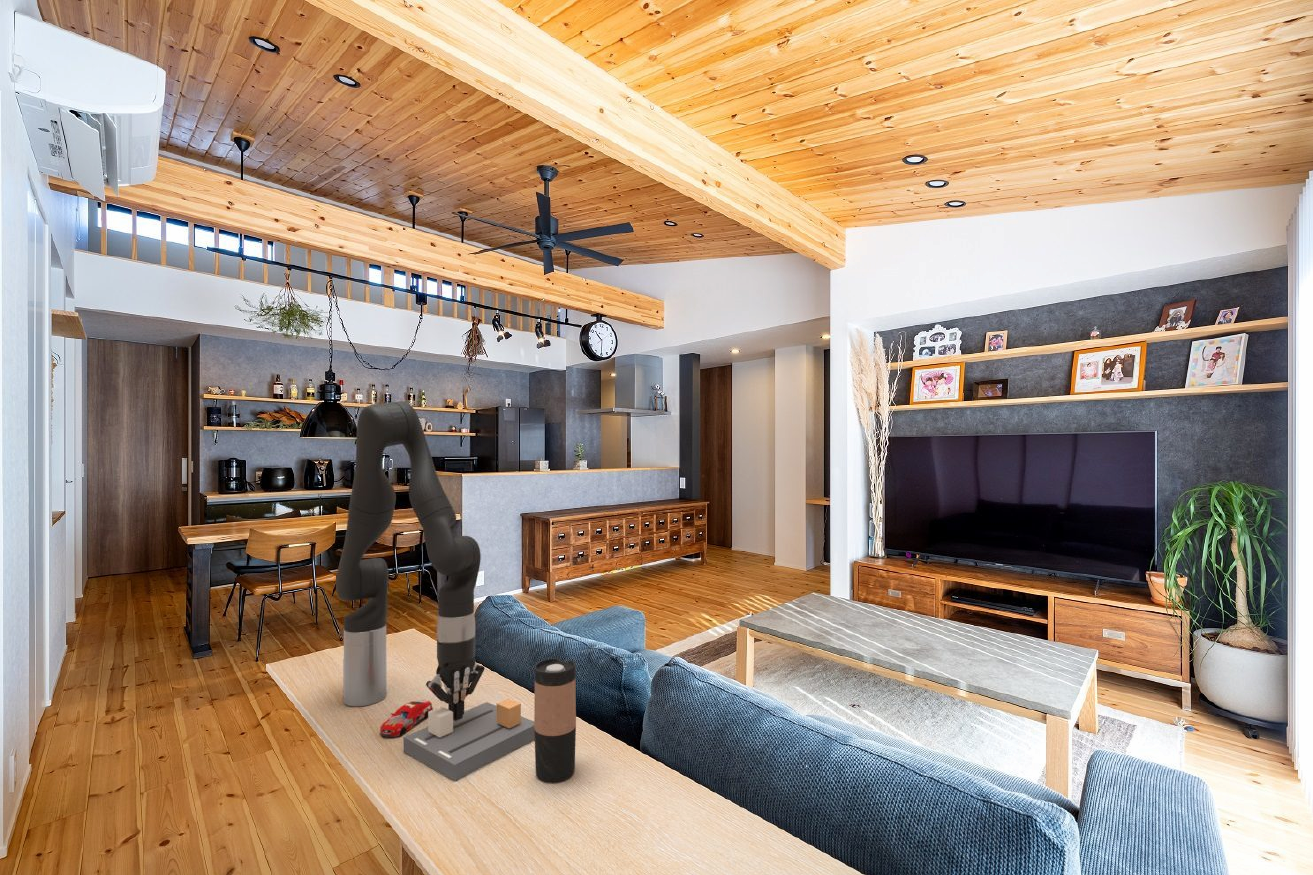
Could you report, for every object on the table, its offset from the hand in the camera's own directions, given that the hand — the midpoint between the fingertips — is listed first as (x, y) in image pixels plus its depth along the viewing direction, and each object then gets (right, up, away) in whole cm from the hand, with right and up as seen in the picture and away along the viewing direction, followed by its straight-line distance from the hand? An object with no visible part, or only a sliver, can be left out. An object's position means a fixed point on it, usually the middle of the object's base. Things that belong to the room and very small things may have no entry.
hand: (456, 718), depth 124 cm
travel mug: (+22, -5, -12) cm, 26 cm away
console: (+4, -4, -2) cm, 6 cm away
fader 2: (+11, -1, +1) cm, 11 cm away
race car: (-13, -5, +7) cm, 16 cm away
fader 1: (-2, -1, -3) cm, 4 cm away
